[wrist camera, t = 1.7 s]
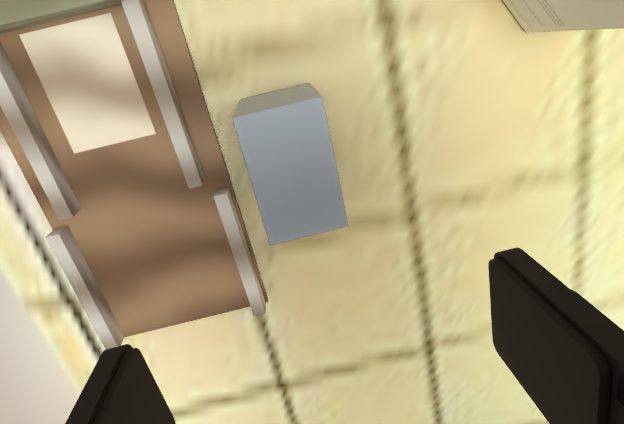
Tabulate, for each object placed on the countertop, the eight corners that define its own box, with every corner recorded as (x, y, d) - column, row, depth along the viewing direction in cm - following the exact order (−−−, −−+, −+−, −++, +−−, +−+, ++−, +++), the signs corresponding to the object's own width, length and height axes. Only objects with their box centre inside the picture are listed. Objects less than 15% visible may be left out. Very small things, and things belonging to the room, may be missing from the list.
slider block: (330, 184, 33) (348, 226, 26) (269, 199, 33) (270, 245, 26) (308, 82, 30) (322, 96, 22) (240, 99, 30) (232, 118, 22)
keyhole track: (267, 299, 36) (267, 323, 33) (112, 337, 36) (98, 365, 33) (162, -35, 26) (148, -45, 23) (-55, 17, 26) (-99, 14, 23)
